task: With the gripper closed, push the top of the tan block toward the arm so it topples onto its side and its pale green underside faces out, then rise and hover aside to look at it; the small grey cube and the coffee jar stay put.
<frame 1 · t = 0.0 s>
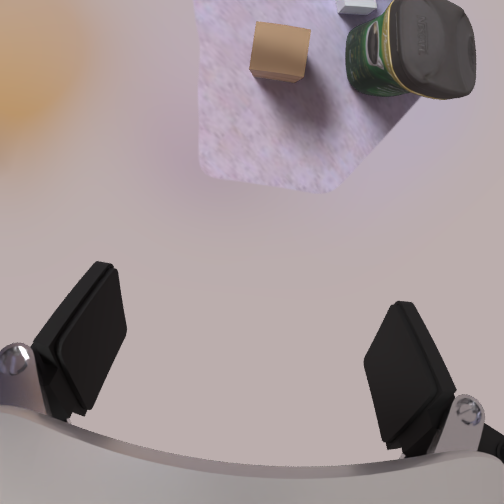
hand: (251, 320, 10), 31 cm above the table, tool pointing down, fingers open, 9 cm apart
tan block: (276, 61, 31), on the table
grey cube: (350, 1, 26), on the table
coffee jar: (372, 61, 30), on the table
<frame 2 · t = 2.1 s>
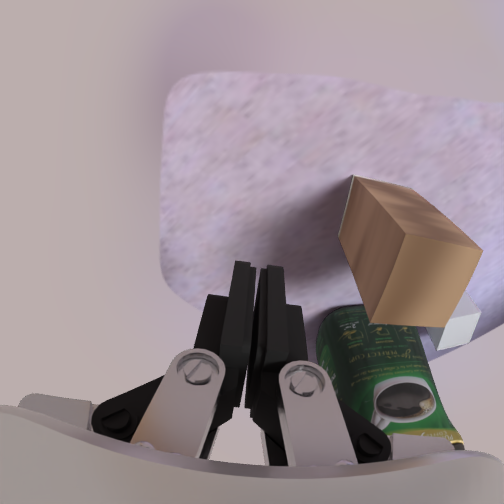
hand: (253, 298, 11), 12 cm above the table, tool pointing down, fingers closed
tan block: (375, 212, 22), on the table
grey cube: (443, 305, 26), on the table
coffee jar: (363, 330, 28), on the table
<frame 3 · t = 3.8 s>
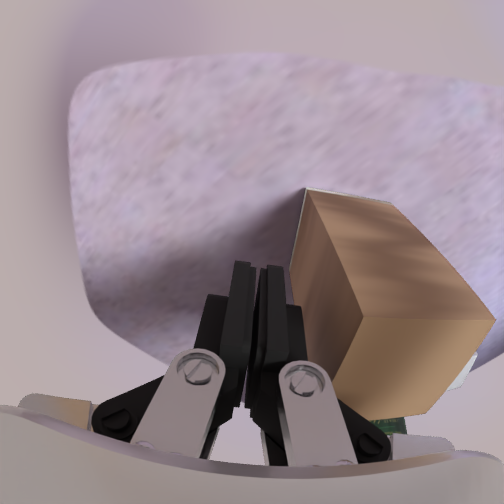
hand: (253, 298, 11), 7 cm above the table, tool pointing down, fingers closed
tan block: (339, 236, 17), on the table, touching gripper
grey cube: (432, 342, 21), on the table
coffee jar: (330, 372, 23), on the table
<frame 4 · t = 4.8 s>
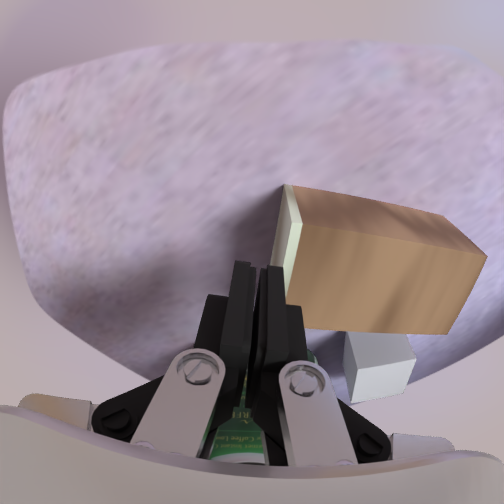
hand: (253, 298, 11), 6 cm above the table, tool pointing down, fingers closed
tan block: (278, 249, 14), point 2 cm above the table, tilted 90°
grey cube: (369, 341, 21), on the table
coffee jar: (256, 368, 22), on the table
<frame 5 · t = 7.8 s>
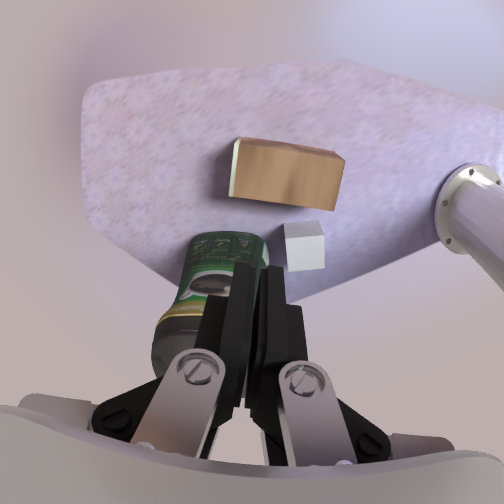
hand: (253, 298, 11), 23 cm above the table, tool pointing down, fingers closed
tan block: (234, 164, 29), point 2 cm above the table, tilted 90°
grey cube: (301, 237, 35), on the table
coffee jar: (230, 257, 37), on the table
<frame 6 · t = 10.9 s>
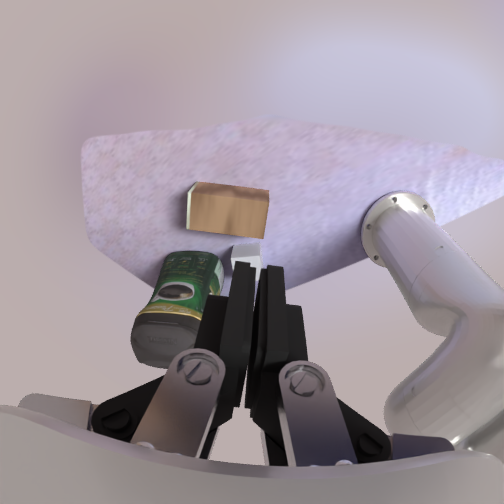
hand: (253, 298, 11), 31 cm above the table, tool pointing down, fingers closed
tan block: (191, 204, 40), point 2 cm above the table, tilted 90°
grey cube: (248, 255, 46), on the table
coffee jar: (195, 269, 48), on the table
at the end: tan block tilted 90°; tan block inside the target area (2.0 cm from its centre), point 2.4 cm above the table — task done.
